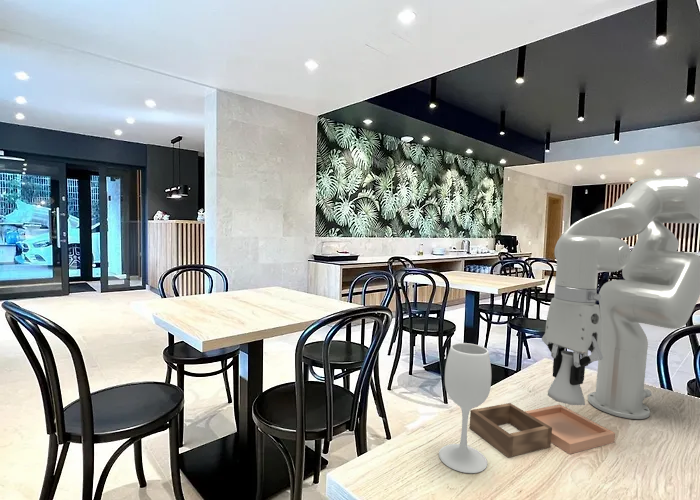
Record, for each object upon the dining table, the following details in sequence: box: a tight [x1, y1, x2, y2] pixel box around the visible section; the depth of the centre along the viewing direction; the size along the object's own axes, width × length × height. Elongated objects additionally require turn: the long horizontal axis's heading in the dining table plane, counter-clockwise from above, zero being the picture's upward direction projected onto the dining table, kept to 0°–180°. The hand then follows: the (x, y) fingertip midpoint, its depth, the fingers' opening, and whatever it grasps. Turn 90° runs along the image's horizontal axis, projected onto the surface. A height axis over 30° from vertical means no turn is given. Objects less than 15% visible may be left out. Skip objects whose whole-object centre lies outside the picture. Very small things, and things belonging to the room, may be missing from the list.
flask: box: [547, 350, 586, 406], centre depth 82 cm, size 7×7×10 cm
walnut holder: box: [469, 402, 552, 459], centre depth 79 cm, size 11×11×4 cm
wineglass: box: [438, 342, 492, 474], centre depth 71 cm, size 9×9×21 cm
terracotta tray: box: [524, 404, 616, 455], centre depth 83 cm, size 13×13×2 cm
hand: (567, 379), depth 82 cm, fingers closed on flask, 3 cm apart
